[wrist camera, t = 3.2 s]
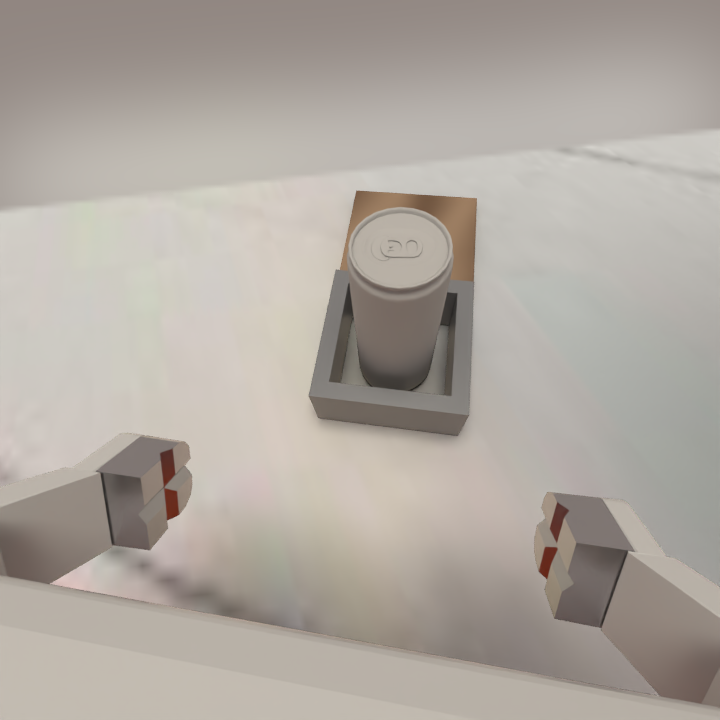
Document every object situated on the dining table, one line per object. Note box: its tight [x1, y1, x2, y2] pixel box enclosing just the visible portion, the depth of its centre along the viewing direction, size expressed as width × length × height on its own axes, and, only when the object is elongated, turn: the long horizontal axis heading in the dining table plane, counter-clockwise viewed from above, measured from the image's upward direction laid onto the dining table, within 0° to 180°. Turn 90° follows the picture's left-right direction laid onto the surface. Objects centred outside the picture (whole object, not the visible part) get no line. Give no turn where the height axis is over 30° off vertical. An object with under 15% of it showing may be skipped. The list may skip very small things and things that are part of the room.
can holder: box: [309, 270, 474, 436], centre depth 27 cm, size 9×9×4 cm
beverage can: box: [347, 207, 454, 391], centre depth 24 cm, size 5×5×12 cm
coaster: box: [340, 191, 477, 282], centre depth 33 cm, size 10×10×1 cm
